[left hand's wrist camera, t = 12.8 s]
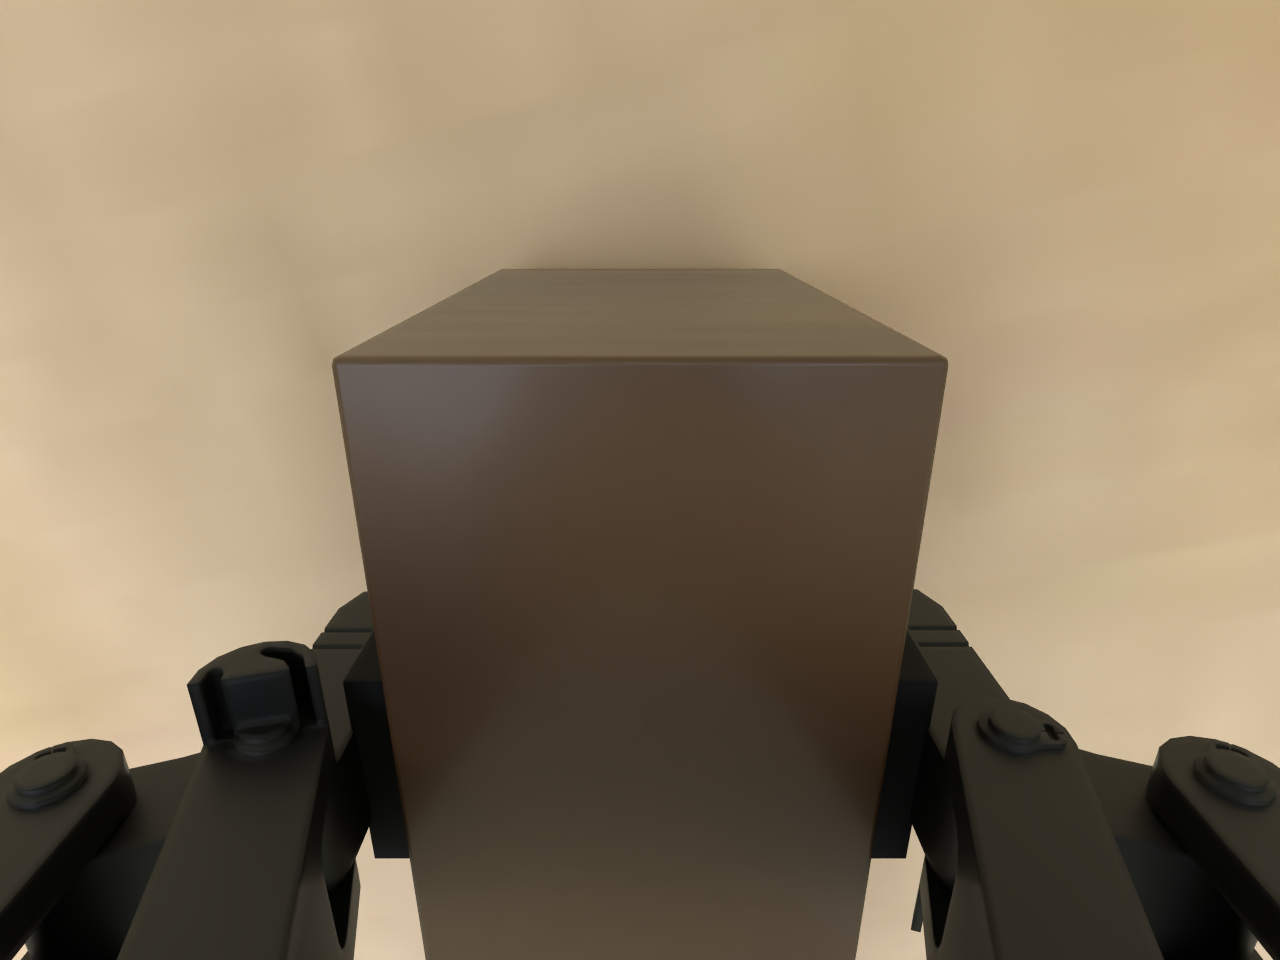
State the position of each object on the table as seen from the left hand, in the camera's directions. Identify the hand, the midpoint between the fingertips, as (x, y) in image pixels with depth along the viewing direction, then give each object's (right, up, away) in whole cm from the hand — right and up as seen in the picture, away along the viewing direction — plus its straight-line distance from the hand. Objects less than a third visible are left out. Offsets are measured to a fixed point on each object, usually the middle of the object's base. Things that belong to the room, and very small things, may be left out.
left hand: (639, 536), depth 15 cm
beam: (0, -27, +11) cm, 29 cm away
